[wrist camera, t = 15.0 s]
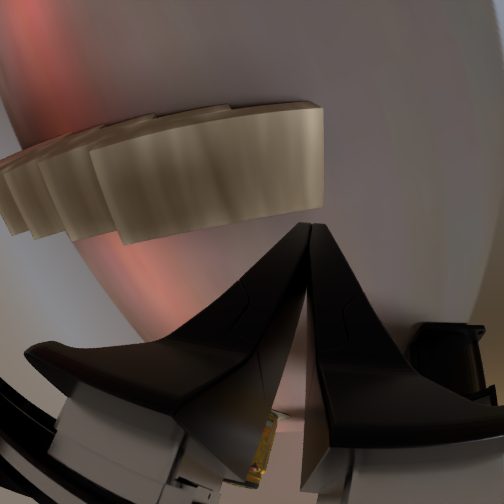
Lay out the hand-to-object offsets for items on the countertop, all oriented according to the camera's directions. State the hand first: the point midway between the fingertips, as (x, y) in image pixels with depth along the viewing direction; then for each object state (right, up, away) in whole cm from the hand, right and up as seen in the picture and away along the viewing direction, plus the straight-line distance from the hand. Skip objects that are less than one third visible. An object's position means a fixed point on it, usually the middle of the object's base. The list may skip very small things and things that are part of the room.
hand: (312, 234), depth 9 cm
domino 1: (+1, +4, +4) cm, 6 cm away
